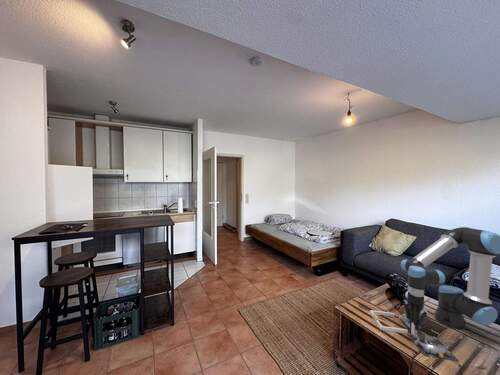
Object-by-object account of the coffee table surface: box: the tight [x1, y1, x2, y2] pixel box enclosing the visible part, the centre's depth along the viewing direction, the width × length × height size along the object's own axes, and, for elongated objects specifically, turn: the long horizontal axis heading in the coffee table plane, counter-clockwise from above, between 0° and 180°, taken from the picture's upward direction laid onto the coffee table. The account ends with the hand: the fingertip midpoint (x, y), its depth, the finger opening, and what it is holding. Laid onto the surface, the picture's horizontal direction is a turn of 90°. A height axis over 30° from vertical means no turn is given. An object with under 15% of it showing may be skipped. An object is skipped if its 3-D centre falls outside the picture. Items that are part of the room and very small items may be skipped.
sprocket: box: [414, 332, 451, 358], centre depth 113 cm, size 15×15×6 cm
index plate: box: [406, 333, 460, 363], centre depth 113 cm, size 16×16×1 cm
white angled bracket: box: [369, 309, 409, 335], centre depth 132 cm, size 15×17×4 cm
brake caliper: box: [398, 313, 422, 330], centre depth 130 cm, size 11×11×12 cm
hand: (414, 333), depth 117 cm, fingers closed
